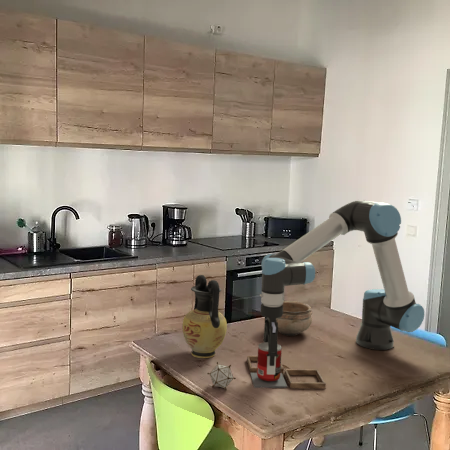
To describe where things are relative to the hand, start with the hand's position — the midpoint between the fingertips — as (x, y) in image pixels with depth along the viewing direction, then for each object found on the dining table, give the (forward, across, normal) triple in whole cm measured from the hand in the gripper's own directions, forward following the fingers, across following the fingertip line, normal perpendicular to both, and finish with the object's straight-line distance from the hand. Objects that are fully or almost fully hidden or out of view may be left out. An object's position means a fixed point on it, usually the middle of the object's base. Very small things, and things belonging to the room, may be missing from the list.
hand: (269, 368), depth 185 cm
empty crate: (+4, 0, +12) cm, 13 cm away
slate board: (+4, 0, 0) cm, 4 cm away
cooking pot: (+5, -50, +16) cm, 53 cm away
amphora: (+4, -24, -22) cm, 33 cm away
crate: (+4, -12, 0) cm, 13 cm away
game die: (+4, +6, -17) cm, 18 cm away
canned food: (+3, 0, 0) cm, 3 cm away
